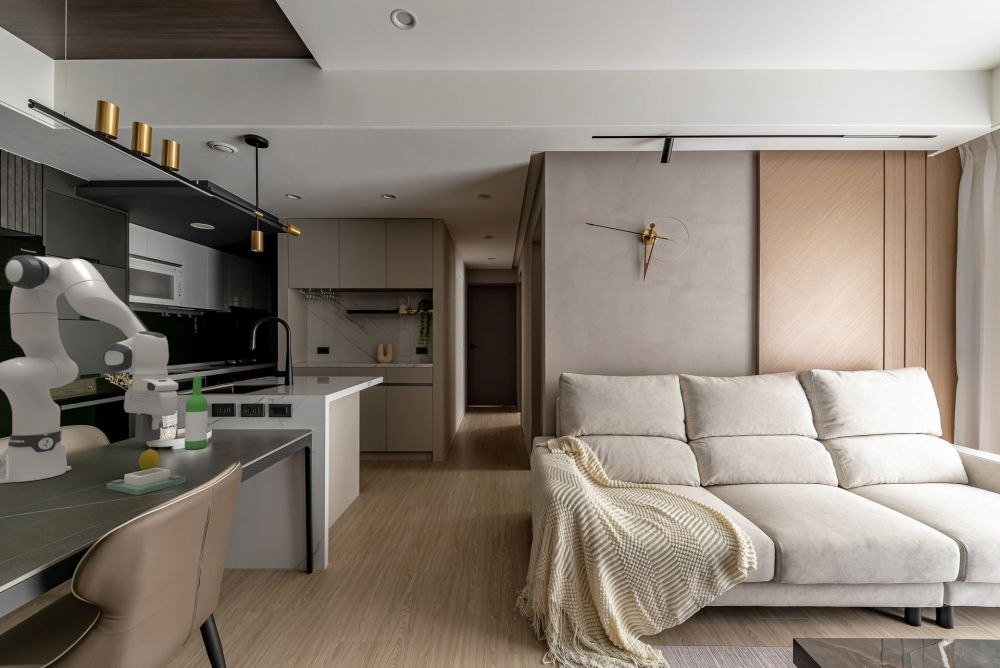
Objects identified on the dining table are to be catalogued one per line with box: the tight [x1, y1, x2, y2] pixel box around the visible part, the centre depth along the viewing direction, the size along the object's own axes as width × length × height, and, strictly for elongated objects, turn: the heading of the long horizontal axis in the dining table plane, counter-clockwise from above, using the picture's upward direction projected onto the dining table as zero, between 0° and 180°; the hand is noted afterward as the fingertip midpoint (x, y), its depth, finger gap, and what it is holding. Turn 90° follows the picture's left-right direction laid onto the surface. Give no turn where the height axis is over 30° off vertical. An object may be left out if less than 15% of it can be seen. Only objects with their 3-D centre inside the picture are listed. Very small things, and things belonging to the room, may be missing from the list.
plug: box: [134, 414, 161, 443], centre depth 145 cm, size 4×6×10 cm, turn 157°
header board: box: [106, 467, 187, 496], centre depth 144 cm, size 15×14×4 cm
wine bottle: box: [184, 375, 208, 451], centre depth 195 cm, size 8×8×30 cm
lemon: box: [138, 448, 160, 471], centre depth 158 cm, size 6×6×8 cm
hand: (149, 428), depth 145 cm, fingers closed on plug, 3 cm apart
